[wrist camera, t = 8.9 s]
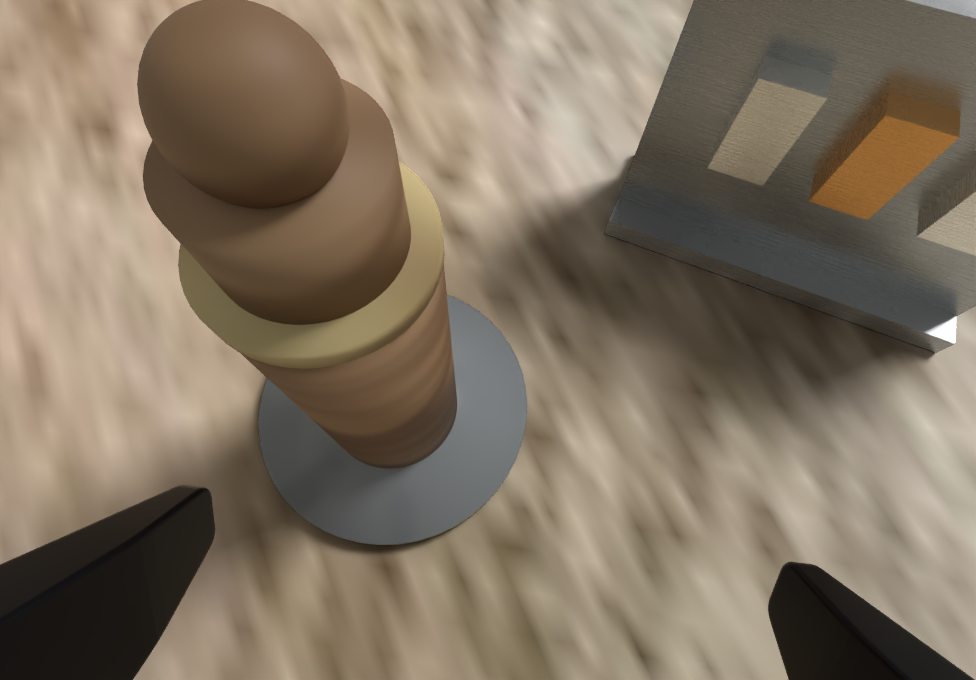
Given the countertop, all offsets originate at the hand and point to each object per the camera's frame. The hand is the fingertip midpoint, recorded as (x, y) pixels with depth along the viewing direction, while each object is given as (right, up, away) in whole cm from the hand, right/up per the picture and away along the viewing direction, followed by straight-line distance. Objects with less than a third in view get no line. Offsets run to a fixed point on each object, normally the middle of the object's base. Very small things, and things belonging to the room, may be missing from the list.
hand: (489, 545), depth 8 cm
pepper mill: (-4, +1, +13) cm, 13 cm away
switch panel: (+14, +8, +17) cm, 24 cm away
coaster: (-4, 0, +13) cm, 14 cm away
